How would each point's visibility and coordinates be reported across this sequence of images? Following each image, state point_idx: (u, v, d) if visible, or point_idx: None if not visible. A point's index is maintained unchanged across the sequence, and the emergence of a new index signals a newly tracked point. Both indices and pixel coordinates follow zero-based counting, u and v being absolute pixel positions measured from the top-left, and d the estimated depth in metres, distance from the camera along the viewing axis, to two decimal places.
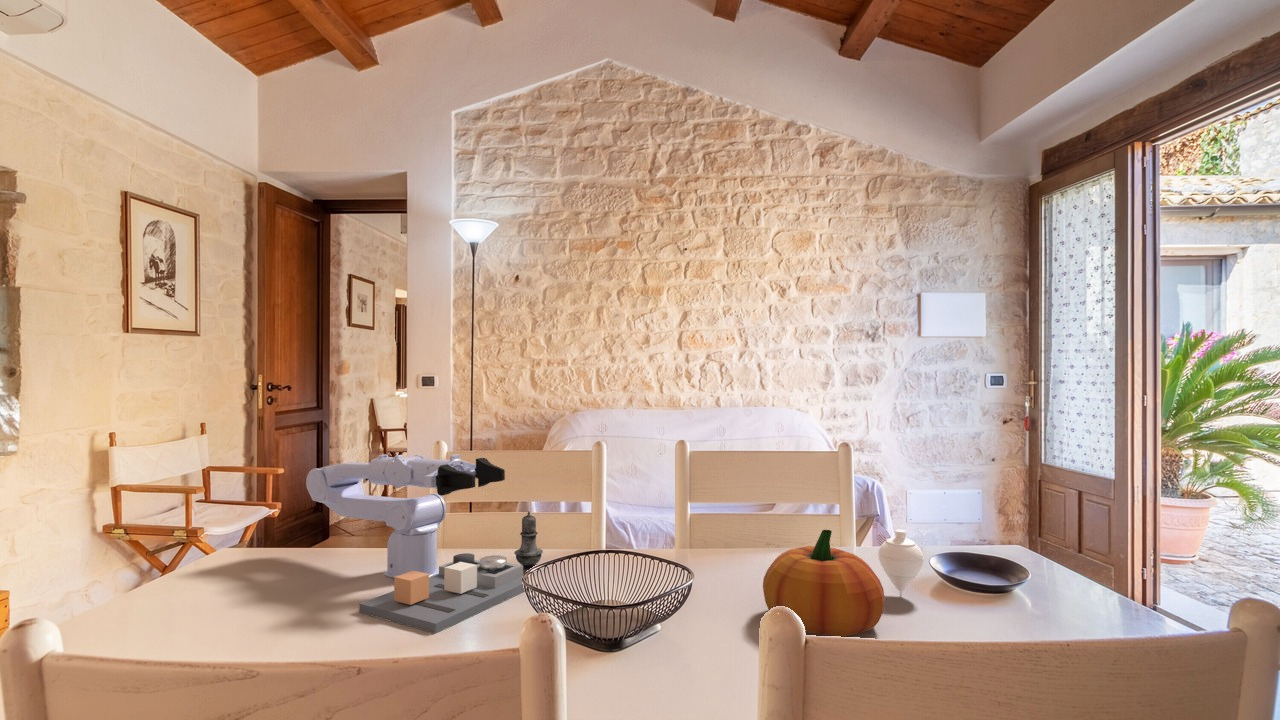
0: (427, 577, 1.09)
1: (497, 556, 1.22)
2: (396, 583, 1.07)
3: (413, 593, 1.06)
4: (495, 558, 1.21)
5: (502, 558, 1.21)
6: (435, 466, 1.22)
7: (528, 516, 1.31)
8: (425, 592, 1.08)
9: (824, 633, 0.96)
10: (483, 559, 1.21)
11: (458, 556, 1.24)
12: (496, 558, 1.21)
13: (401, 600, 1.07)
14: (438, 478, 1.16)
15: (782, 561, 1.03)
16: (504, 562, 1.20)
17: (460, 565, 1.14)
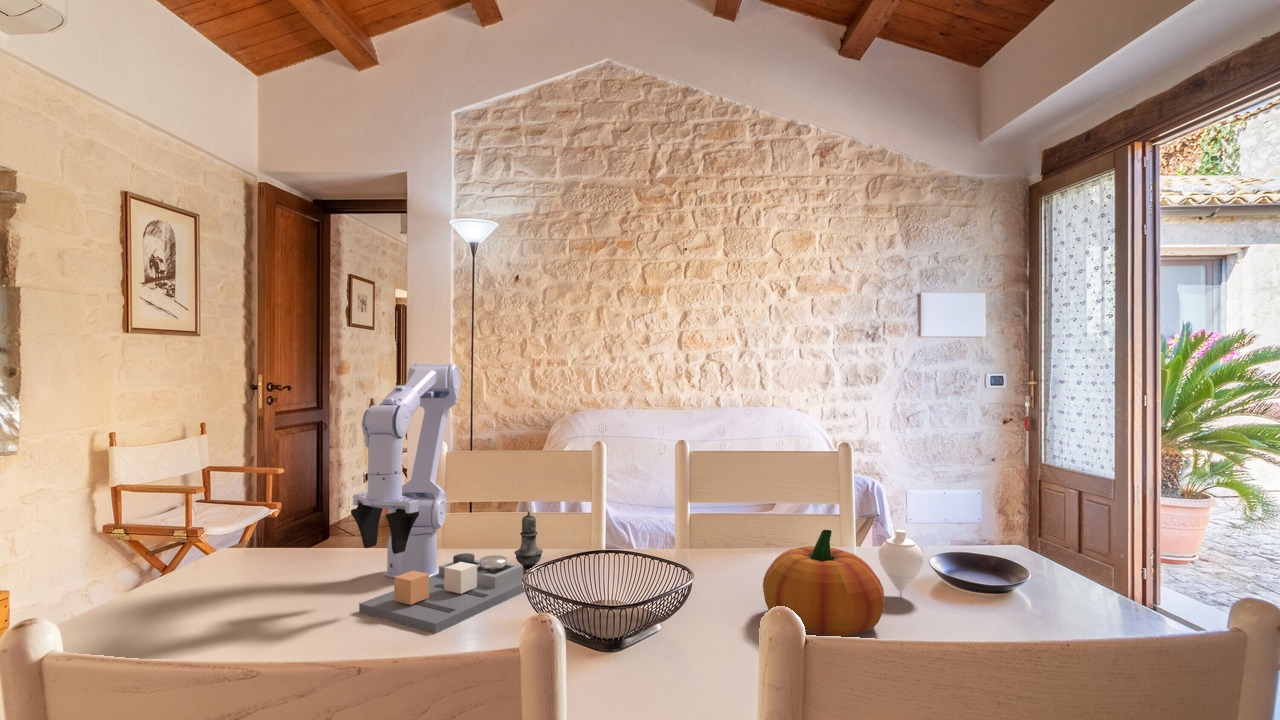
0: (427, 577, 1.09)
1: (497, 556, 1.22)
2: (396, 583, 1.07)
3: (413, 593, 1.06)
4: (495, 558, 1.21)
5: (502, 558, 1.21)
6: None
7: (528, 516, 1.31)
8: (425, 592, 1.08)
9: (824, 633, 0.96)
10: (483, 559, 1.21)
11: (458, 556, 1.24)
12: (496, 558, 1.21)
13: (401, 600, 1.07)
14: None
15: (782, 561, 1.03)
16: (504, 562, 1.20)
17: (460, 565, 1.14)
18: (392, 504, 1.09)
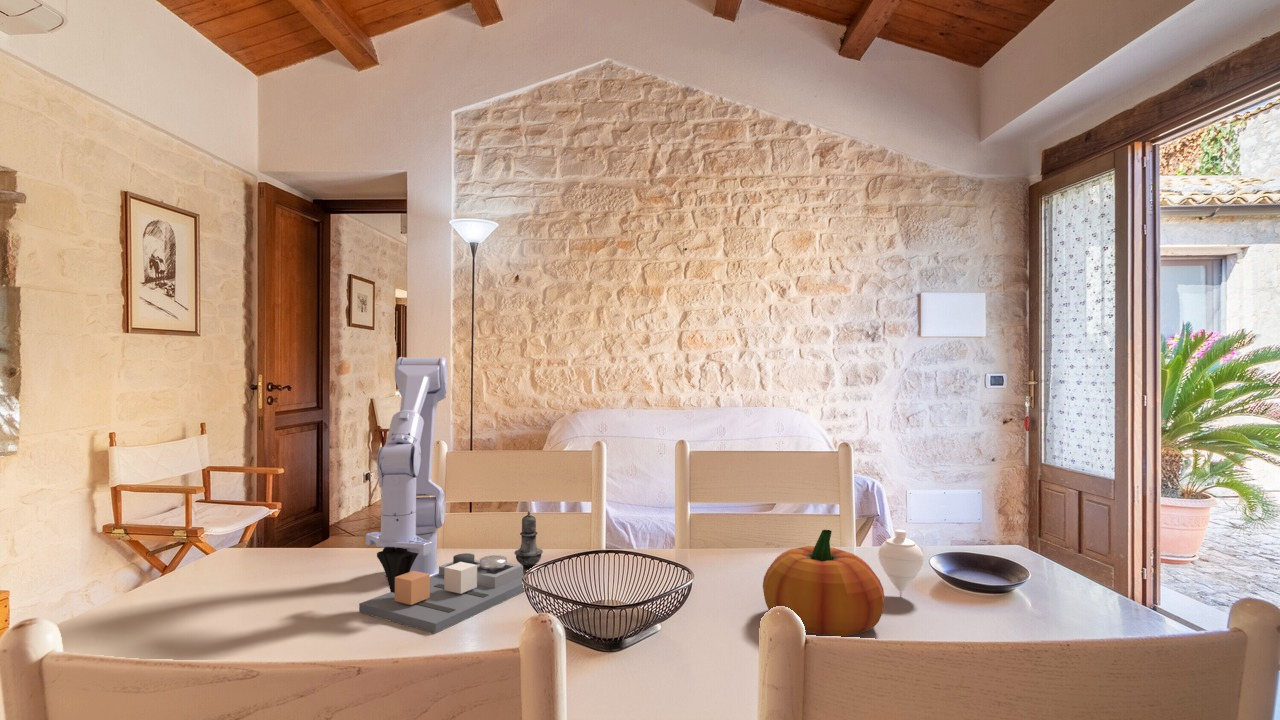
0: (428, 577, 1.09)
1: (497, 556, 1.22)
2: (397, 583, 1.07)
3: (413, 593, 1.06)
4: (495, 558, 1.21)
5: (502, 558, 1.21)
6: None
7: (528, 516, 1.31)
8: (426, 592, 1.08)
9: (824, 633, 0.96)
10: (483, 559, 1.21)
11: (458, 556, 1.24)
12: (496, 558, 1.21)
13: (401, 600, 1.07)
14: None
15: (782, 561, 1.03)
16: (504, 562, 1.20)
17: (460, 565, 1.14)
18: (406, 546, 1.07)
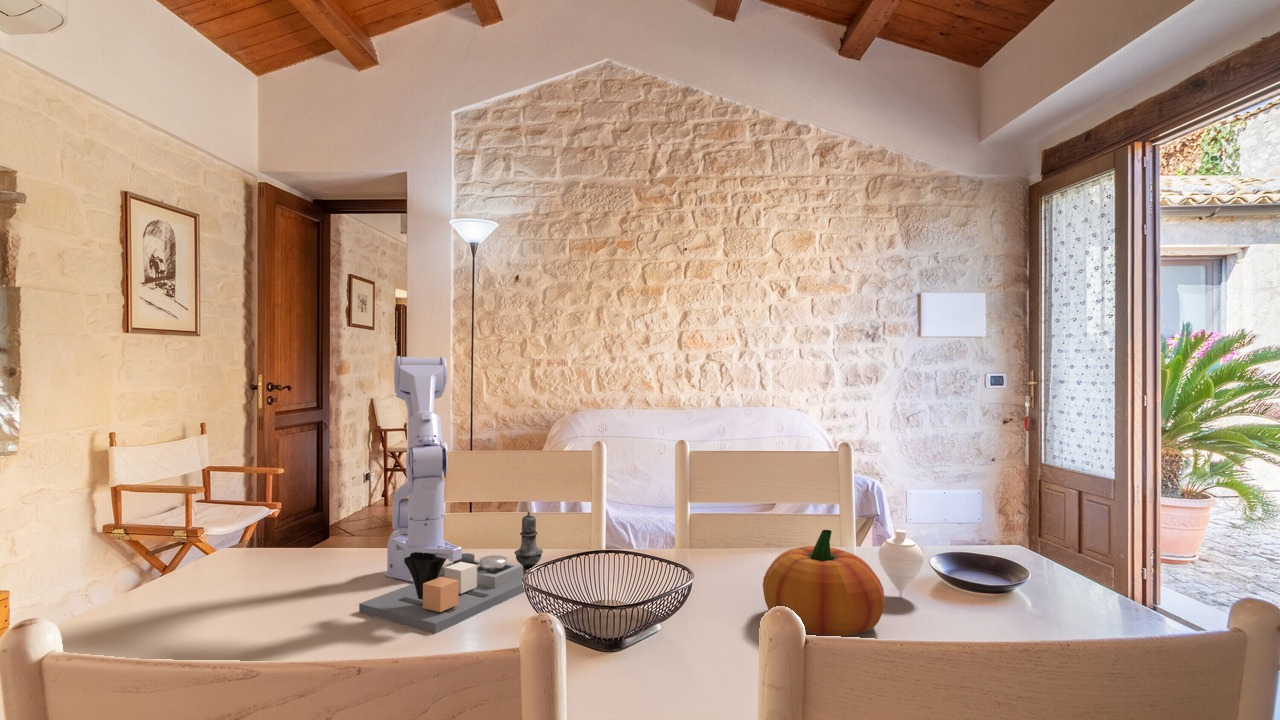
0: (457, 584, 1.06)
1: (497, 556, 1.22)
2: (425, 590, 1.04)
3: (442, 600, 1.03)
4: (495, 558, 1.21)
5: (502, 558, 1.21)
6: None
7: (528, 516, 1.31)
8: (454, 599, 1.05)
9: (824, 633, 0.96)
10: (483, 559, 1.21)
11: None
12: (496, 558, 1.21)
13: (430, 607, 1.03)
14: None
15: (782, 561, 1.03)
16: (504, 562, 1.20)
17: (460, 565, 1.14)
18: (435, 551, 1.04)
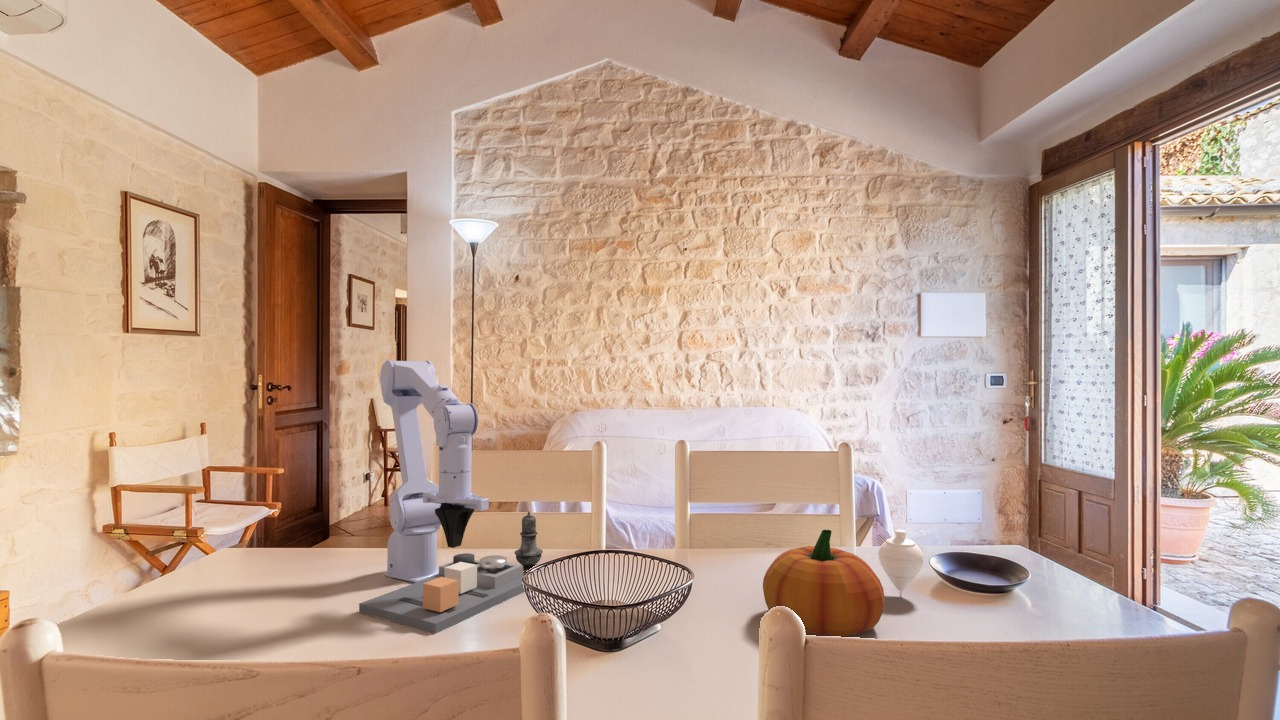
0: (457, 584, 1.06)
1: (497, 556, 1.22)
2: (425, 590, 1.04)
3: (442, 600, 1.03)
4: (495, 558, 1.21)
5: (502, 558, 1.21)
6: None
7: (528, 516, 1.31)
8: (454, 599, 1.05)
9: (824, 633, 0.96)
10: (483, 559, 1.21)
11: (458, 556, 1.24)
12: (496, 558, 1.21)
13: (430, 607, 1.03)
14: None
15: (782, 561, 1.03)
16: (504, 562, 1.20)
17: (460, 565, 1.14)
18: (464, 502, 1.11)
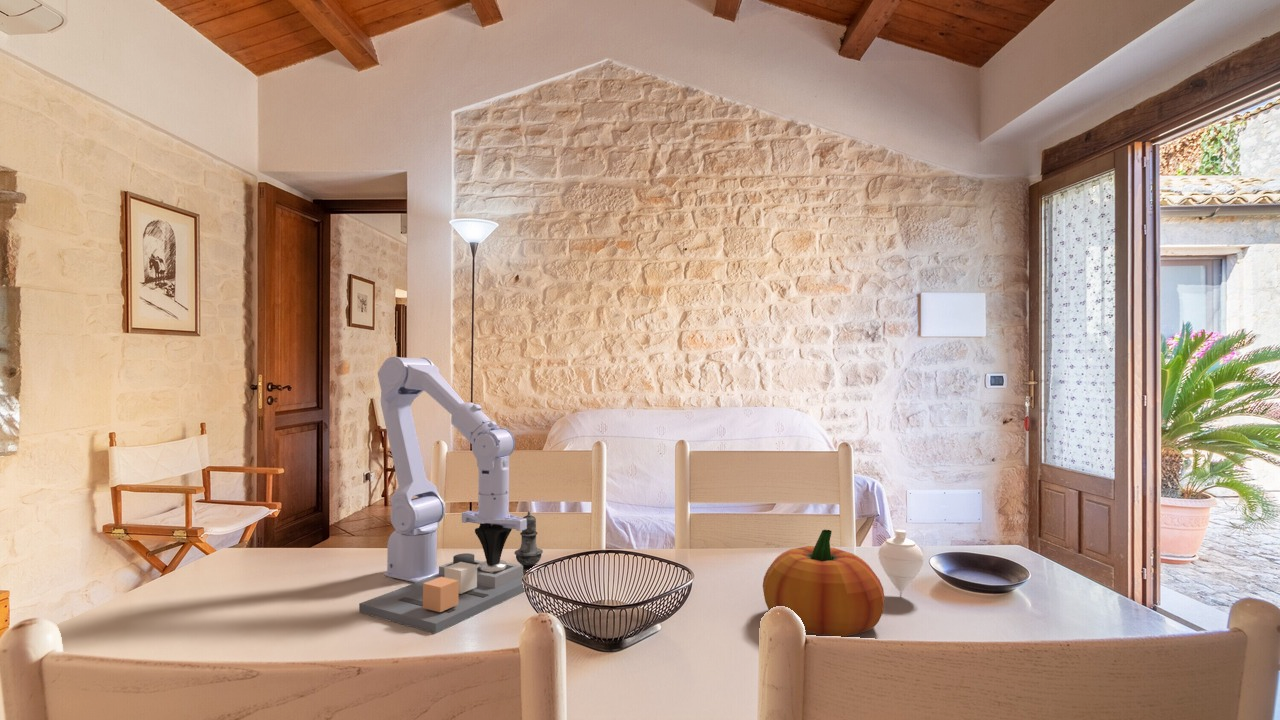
0: (457, 584, 1.06)
1: None
2: (425, 590, 1.04)
3: (442, 600, 1.03)
4: None
5: (502, 563, 1.21)
6: (478, 501, 1.20)
7: (528, 516, 1.31)
8: (454, 599, 1.05)
9: (824, 633, 0.96)
10: (483, 563, 1.21)
11: (458, 556, 1.24)
12: None
13: (430, 607, 1.03)
14: None
15: (782, 561, 1.03)
16: (504, 567, 1.20)
17: (460, 565, 1.14)
18: (503, 522, 1.17)
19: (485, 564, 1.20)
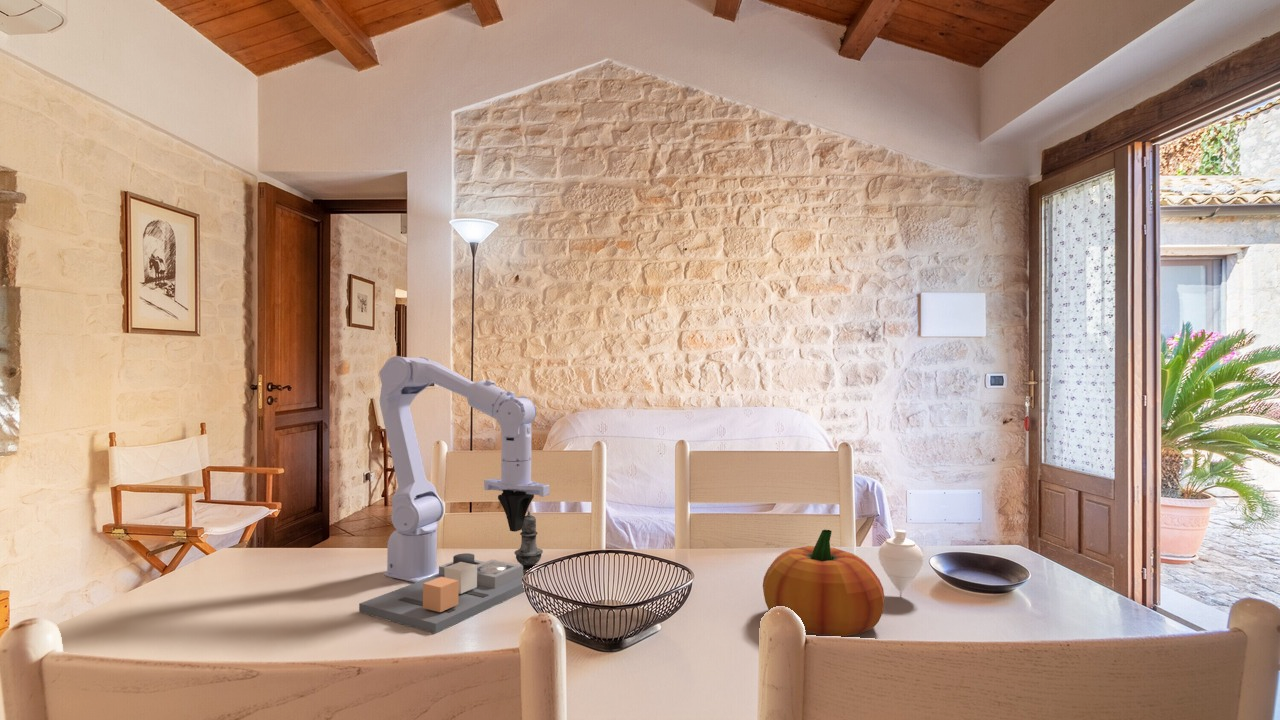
0: (457, 584, 1.06)
1: (497, 563, 1.22)
2: (425, 590, 1.04)
3: (442, 600, 1.03)
4: (495, 565, 1.21)
5: (502, 565, 1.21)
6: (501, 468, 1.22)
7: (528, 516, 1.31)
8: (454, 599, 1.05)
9: (824, 633, 0.96)
10: (483, 566, 1.21)
11: (458, 556, 1.24)
12: (496, 565, 1.21)
13: (430, 607, 1.03)
14: None
15: (782, 561, 1.03)
16: None
17: (460, 565, 1.14)
18: (526, 488, 1.19)
19: (485, 567, 1.20)
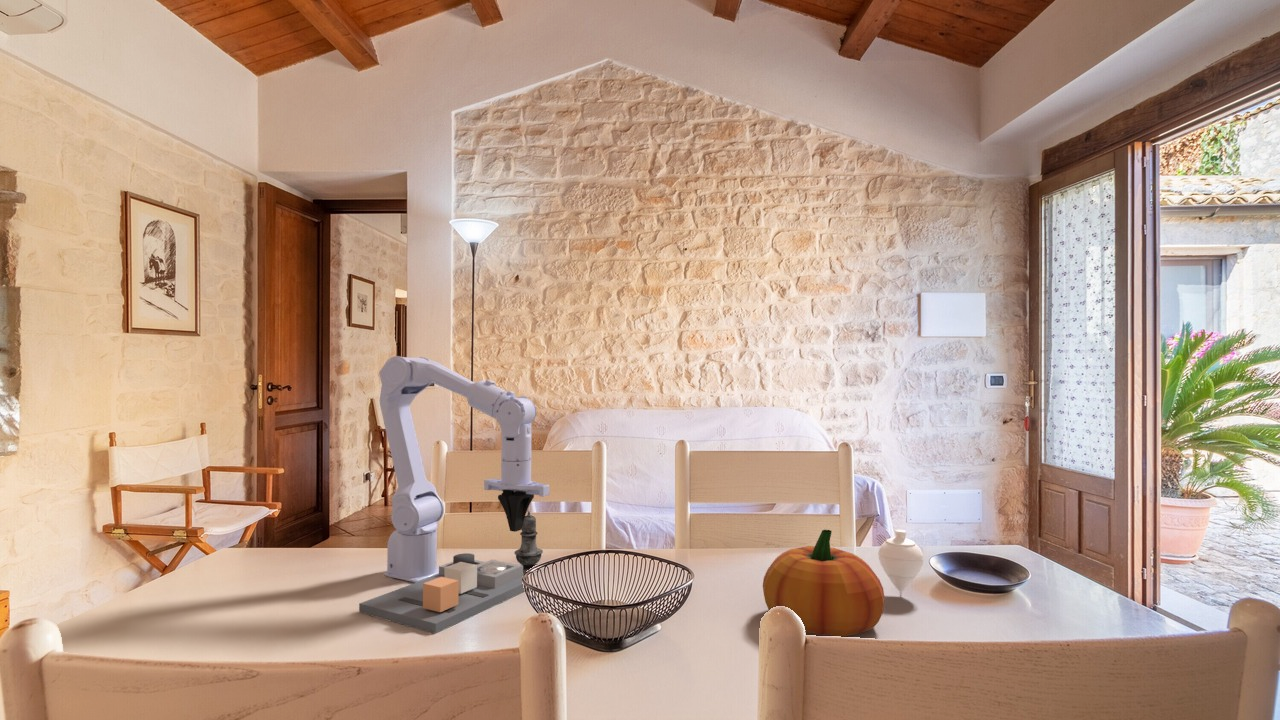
0: (457, 584, 1.06)
1: (497, 563, 1.22)
2: (425, 590, 1.04)
3: (442, 600, 1.03)
4: (495, 565, 1.21)
5: (502, 565, 1.21)
6: (501, 468, 1.22)
7: (528, 516, 1.31)
8: (454, 599, 1.05)
9: (824, 633, 0.96)
10: (483, 566, 1.21)
11: (458, 556, 1.24)
12: (496, 565, 1.21)
13: (430, 607, 1.03)
14: None
15: (782, 561, 1.03)
16: None
17: (460, 565, 1.14)
18: (526, 488, 1.19)
19: (485, 567, 1.20)
